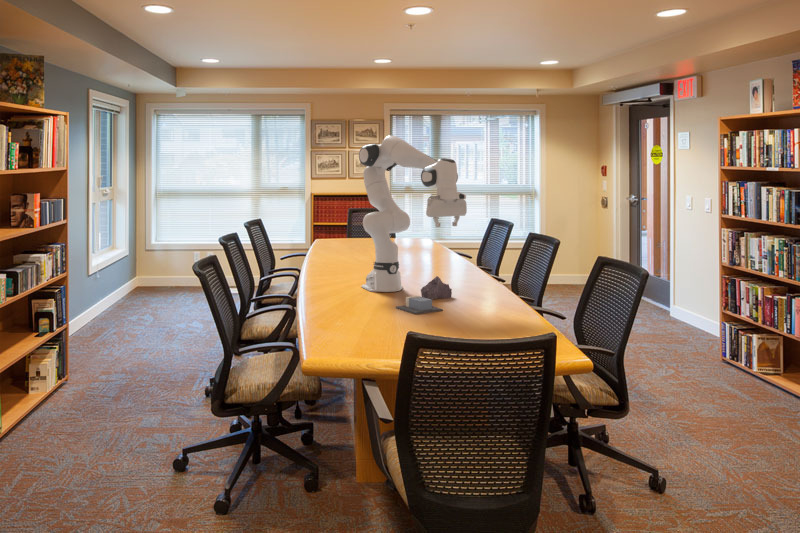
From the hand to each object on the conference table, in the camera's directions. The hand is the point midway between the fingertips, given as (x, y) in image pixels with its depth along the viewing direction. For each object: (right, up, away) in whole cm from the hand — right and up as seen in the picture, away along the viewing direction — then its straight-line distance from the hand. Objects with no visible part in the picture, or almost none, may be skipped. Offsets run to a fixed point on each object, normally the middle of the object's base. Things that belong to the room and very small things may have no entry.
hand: (446, 226), depth 304 cm
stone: (-4, -33, +14) cm, 36 cm away
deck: (-13, -35, -12) cm, 39 cm away
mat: (-13, -36, -12) cm, 40 cm away
